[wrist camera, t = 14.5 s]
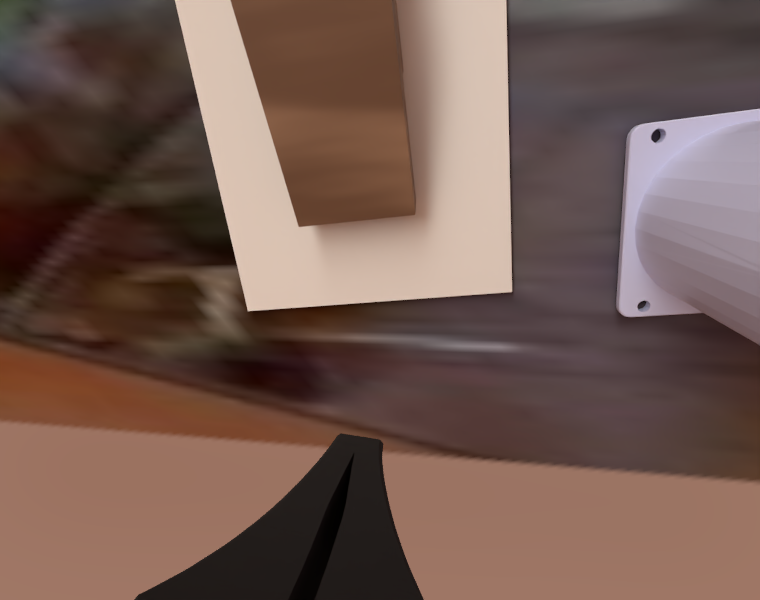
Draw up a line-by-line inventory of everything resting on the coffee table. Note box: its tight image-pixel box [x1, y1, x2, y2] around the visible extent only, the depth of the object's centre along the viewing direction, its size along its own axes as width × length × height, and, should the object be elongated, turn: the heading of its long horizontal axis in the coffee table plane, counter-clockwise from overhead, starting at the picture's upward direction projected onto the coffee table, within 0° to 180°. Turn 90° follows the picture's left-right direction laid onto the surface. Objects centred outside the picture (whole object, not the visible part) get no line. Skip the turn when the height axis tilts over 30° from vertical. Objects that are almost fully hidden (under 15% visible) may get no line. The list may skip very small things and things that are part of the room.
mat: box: [175, 0, 512, 311], centre depth 16 cm, size 13×25×1 cm, turn 7°
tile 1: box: [231, 0, 416, 227], centre depth 15 cm, size 2×5×9 cm
